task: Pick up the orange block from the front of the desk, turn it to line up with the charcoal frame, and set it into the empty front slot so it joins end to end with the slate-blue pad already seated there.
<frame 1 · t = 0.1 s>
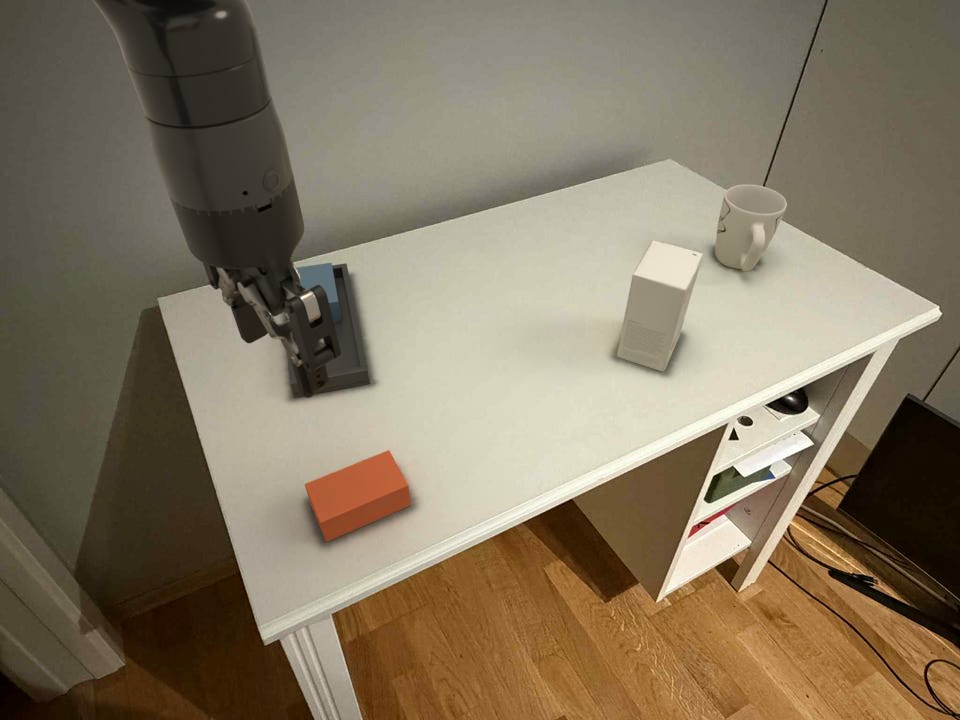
hand: (284, 362, 51), 20 cm above the table, tool pointing down, fingers open, 8 cm apart
orange block: (360, 504, 65), on the table
mug: (737, 264, 96), on the table
frame: (324, 331, 84), on the table
seated pad: (320, 304, 87), point 1 cm above the table, touching frame
small box: (647, 347, 83), on the table
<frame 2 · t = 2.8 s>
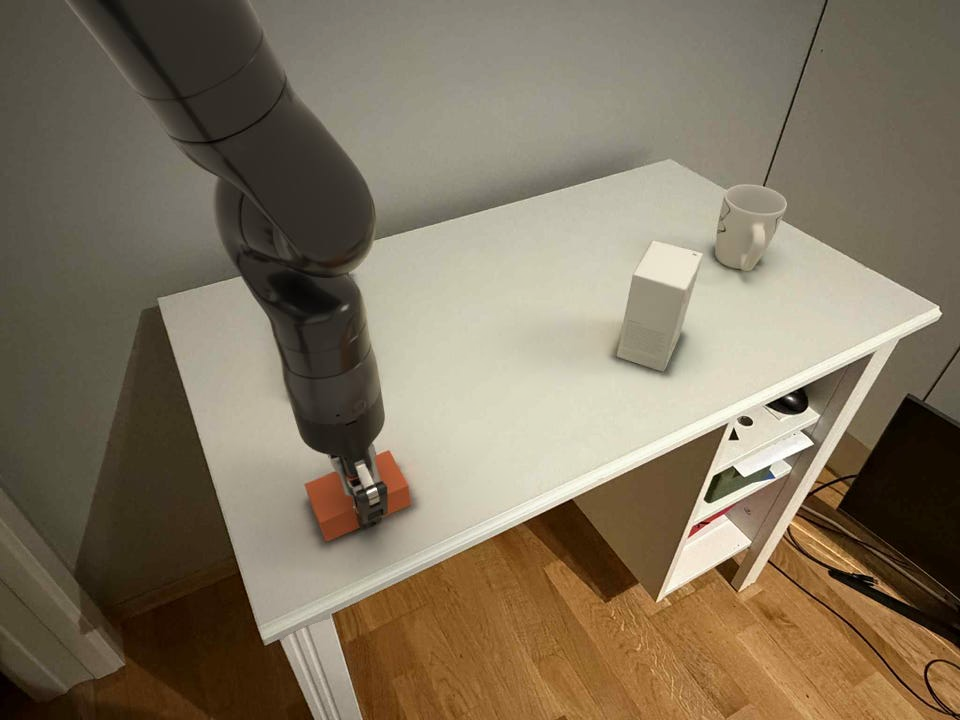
hand: (360, 502, 65), 0 cm above the table, tool pointing down, fingers closed on orange block, 5 cm apart
orange block: (360, 504, 65), on the table, touching gripper
everything else where it was.
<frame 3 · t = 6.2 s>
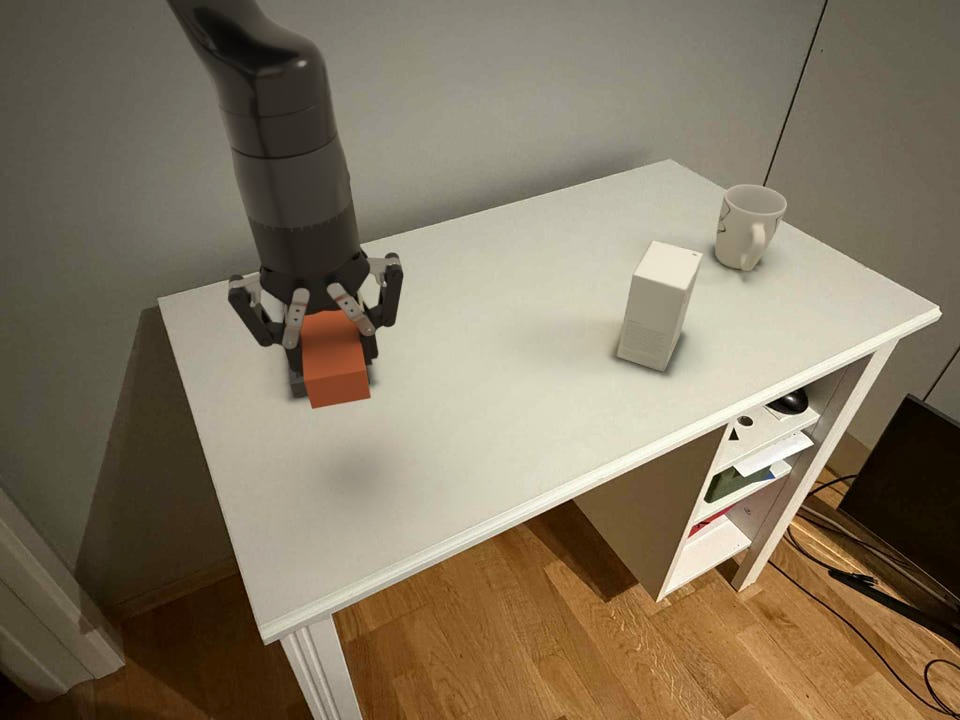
hand: (336, 364, 57), 16 cm above the table, tool pointing down, fingers closed on orange block, 5 cm apart
orange block: (337, 367, 57), point 15 cm above the table, touching gripper
everything else where it was.
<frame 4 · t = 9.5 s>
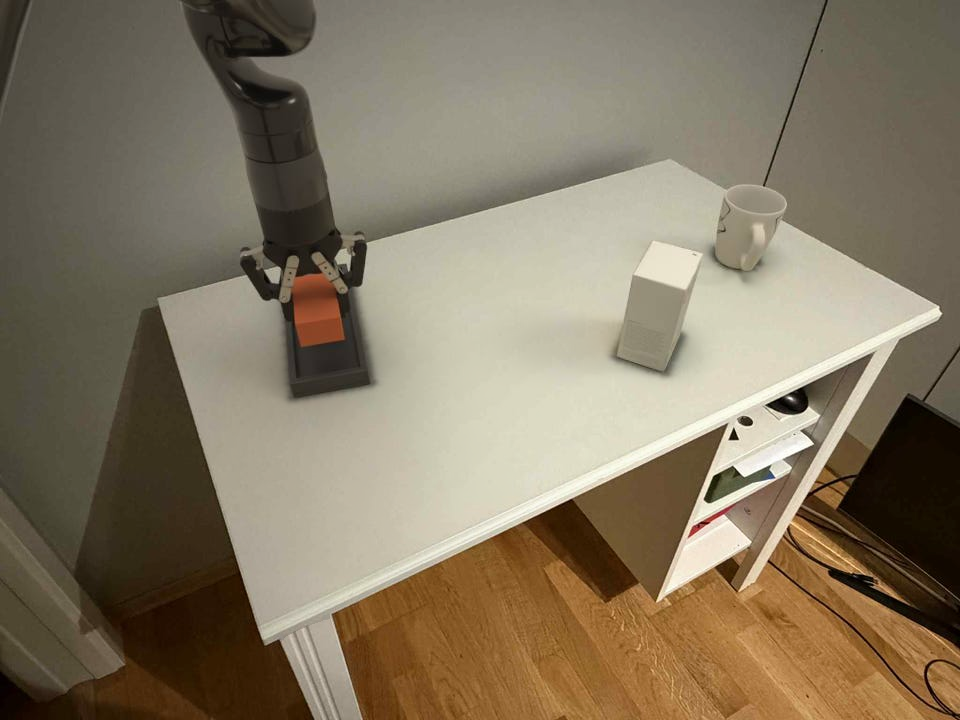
hand: (319, 316, 76), 7 cm above the table, tool pointing down, fingers closed on orange block, 5 cm apart
orange block: (319, 319, 77), point 6 cm above the table, touching gripper
everything else where it was.
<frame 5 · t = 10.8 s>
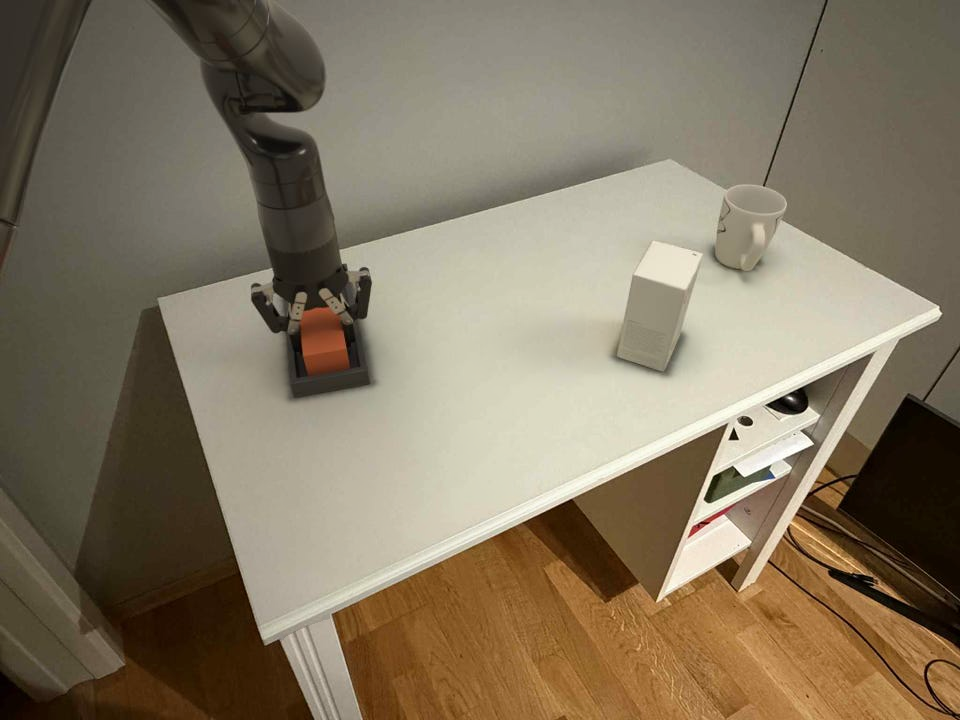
hand: (325, 346, 80), 2 cm above the table, tool pointing down, fingers closed on orange block, 5 cm apart
orange block: (326, 349, 80), point 1 cm above the table, touching gripper
everything else where it was.
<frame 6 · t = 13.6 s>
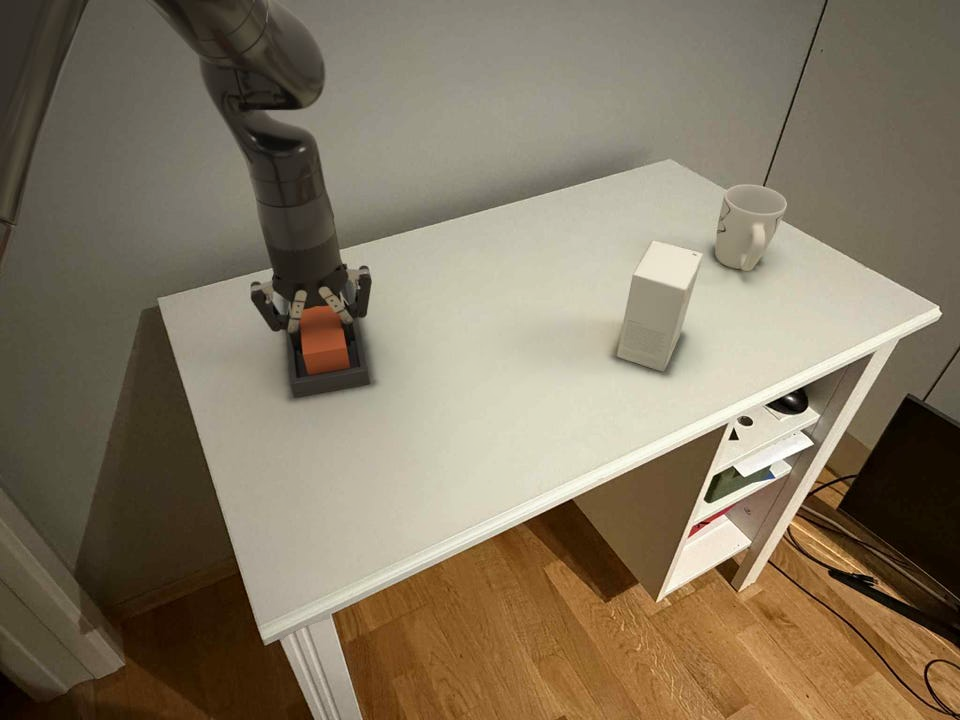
hand: (325, 345, 80), 2 cm above the table, tool pointing down, fingers closed on orange block, 5 cm apart
orange block: (325, 347, 80), point 1 cm above the table, touching gripper
everything else where it was.
when the fingers open (2 cm above the table, at t = 16.2 s): orange block stays where it is, resting on frame.
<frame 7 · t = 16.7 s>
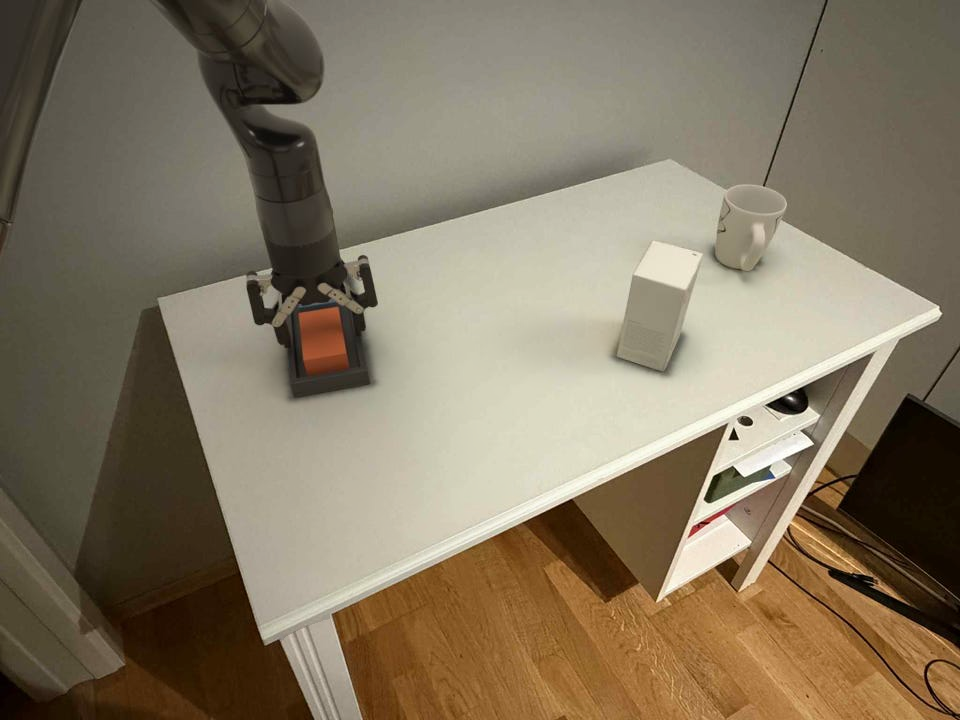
hand: (323, 337, 79), 3 cm above the table, tool pointing down, fingers open, 8 cm apart
orange block: (326, 353, 80), point 1 cm above the table, touching frame
everything else where it was.
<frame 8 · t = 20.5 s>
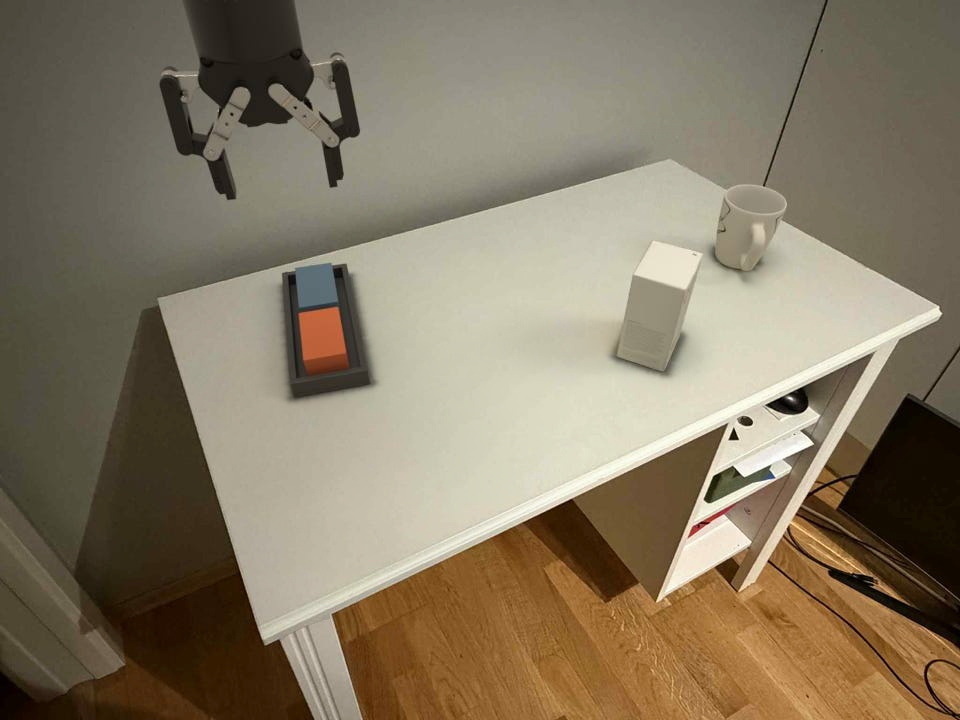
hand: (283, 189, 55), 28 cm above the table, tool pointing down, fingers open, 8 cm apart
nothing on the table moved.
at the end: orange block 0.1 cm from the target spot in the frame, point 0.6 cm above the frame's base; orange block 10.1 cm from the seated pad (horizontally); orange block tilted 0° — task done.
